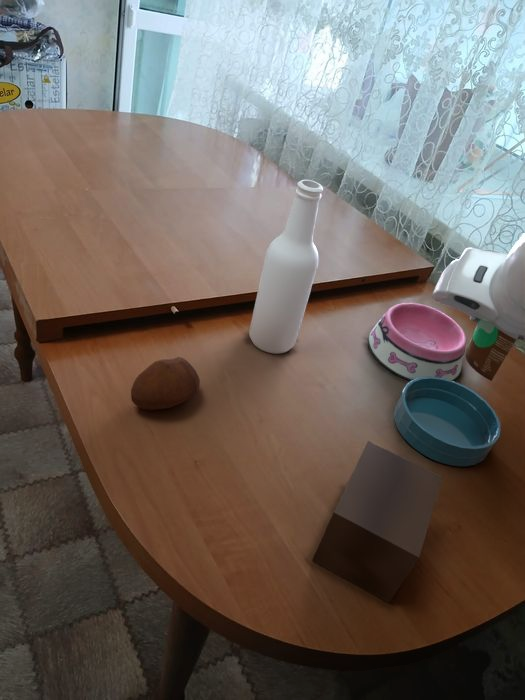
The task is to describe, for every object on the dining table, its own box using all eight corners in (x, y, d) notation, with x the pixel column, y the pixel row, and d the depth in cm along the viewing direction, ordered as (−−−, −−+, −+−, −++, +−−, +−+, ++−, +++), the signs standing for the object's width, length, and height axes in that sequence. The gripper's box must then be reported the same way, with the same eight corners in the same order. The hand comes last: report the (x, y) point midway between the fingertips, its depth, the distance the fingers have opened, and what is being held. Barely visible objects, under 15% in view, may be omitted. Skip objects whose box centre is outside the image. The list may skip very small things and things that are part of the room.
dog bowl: (472, 392, 99) (488, 364, 95) (374, 377, 97) (387, 347, 93) (446, 333, 114) (460, 306, 110) (361, 318, 112) (371, 290, 108)
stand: (413, 523, 74) (442, 476, 68) (388, 603, 64) (419, 557, 58) (346, 488, 76) (368, 440, 70) (311, 560, 66) (333, 512, 60)
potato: (211, 399, 85) (218, 361, 80) (152, 433, 77) (156, 393, 72) (179, 373, 88) (183, 334, 83) (120, 403, 81) (121, 362, 76)
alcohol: (238, 332, 100) (270, 174, 82) (275, 321, 105) (313, 170, 87) (267, 360, 95) (307, 199, 77) (304, 348, 100) (350, 193, 82)
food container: (468, 330, 85) (497, 275, 80) (506, 348, 83) (539, 293, 78) (446, 365, 76) (477, 305, 70) (489, 386, 74) (524, 326, 68)
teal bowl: (493, 422, 94) (505, 403, 91) (481, 484, 82) (494, 465, 79) (406, 383, 98) (415, 364, 95) (381, 437, 86) (391, 417, 83)
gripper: (630, 305, 61) (582, 334, 75) (454, 242, 67) (439, 279, 80) (609, 355, 61) (565, 375, 74) (433, 287, 66) (422, 317, 79)
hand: (498, 325), depth 77 cm, fingers closed on food container, 5 cm apart
